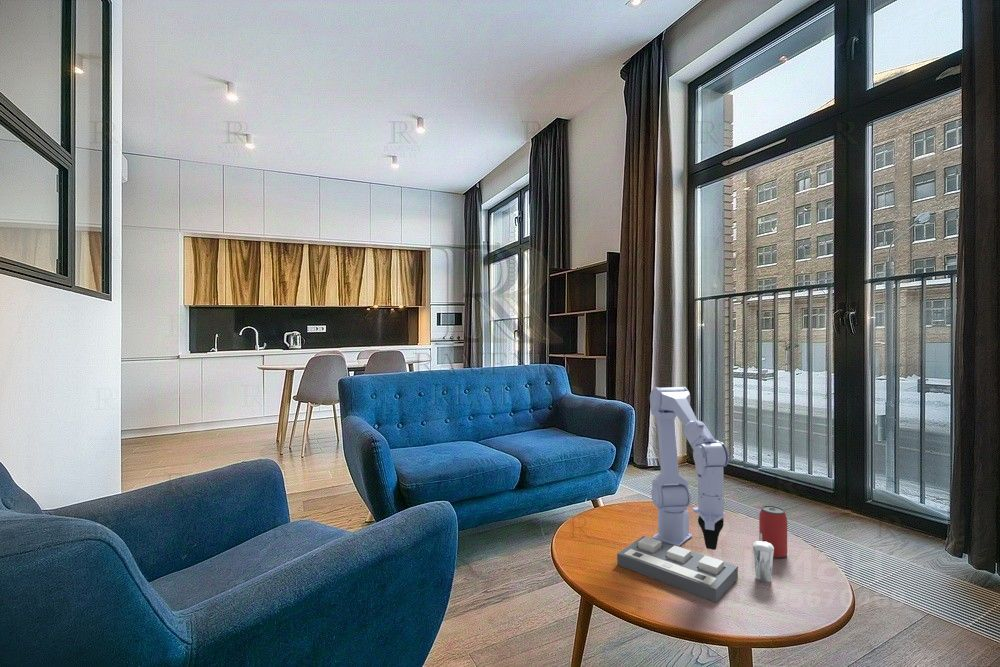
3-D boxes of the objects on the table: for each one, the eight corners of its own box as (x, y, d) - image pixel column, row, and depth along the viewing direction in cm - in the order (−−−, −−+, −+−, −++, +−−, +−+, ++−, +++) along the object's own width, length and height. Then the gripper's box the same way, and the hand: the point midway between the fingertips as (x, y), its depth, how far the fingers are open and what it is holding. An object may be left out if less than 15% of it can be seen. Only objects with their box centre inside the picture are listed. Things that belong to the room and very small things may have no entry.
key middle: (674, 556, 126) (674, 545, 126) (691, 562, 123) (691, 550, 123) (667, 562, 123) (666, 551, 123) (683, 568, 120) (683, 556, 120)
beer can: (782, 548, 133) (782, 505, 133) (791, 560, 127) (791, 514, 127) (756, 546, 135) (756, 503, 134) (763, 557, 128) (763, 512, 128)
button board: (643, 546, 136) (643, 534, 136) (737, 578, 118) (737, 564, 118) (617, 564, 126) (617, 552, 126) (716, 602, 108) (716, 587, 108)
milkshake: (771, 574, 120) (771, 534, 120) (775, 585, 115) (775, 544, 114) (750, 571, 121) (750, 532, 121) (754, 582, 116) (754, 541, 116)
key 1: (646, 547, 132) (646, 536, 132) (661, 552, 129) (661, 541, 129) (638, 552, 129) (638, 541, 129) (653, 558, 126) (653, 546, 126)
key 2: (705, 567, 121) (705, 555, 121) (723, 573, 118) (723, 561, 118) (698, 573, 118) (698, 561, 118) (717, 580, 115) (716, 567, 115)
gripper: (695, 481, 126) (695, 533, 126) (690, 500, 113) (691, 557, 113) (724, 485, 123) (725, 538, 123) (724, 504, 109) (724, 564, 110)
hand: (711, 548), depth 118 cm, fingers closed
